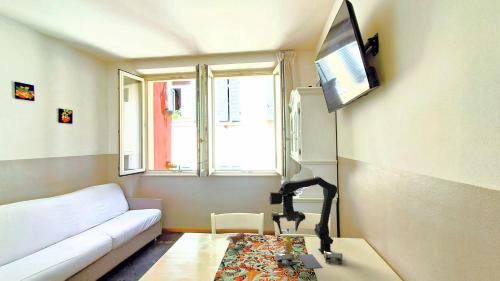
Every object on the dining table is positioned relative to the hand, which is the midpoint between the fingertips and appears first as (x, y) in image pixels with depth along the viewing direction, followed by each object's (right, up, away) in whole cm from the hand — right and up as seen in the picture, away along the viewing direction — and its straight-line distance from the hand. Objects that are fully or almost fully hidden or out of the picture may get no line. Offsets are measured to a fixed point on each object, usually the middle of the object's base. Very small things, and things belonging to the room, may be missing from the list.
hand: (288, 231), depth 134 cm
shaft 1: (-3, -12, -10) cm, 16 cm away
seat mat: (+10, -12, -9) cm, 18 cm away
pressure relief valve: (-2, -13, -2) cm, 13 cm away
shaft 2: (+22, -12, -9) cm, 27 cm away
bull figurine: (-30, -13, +10) cm, 34 cm away
